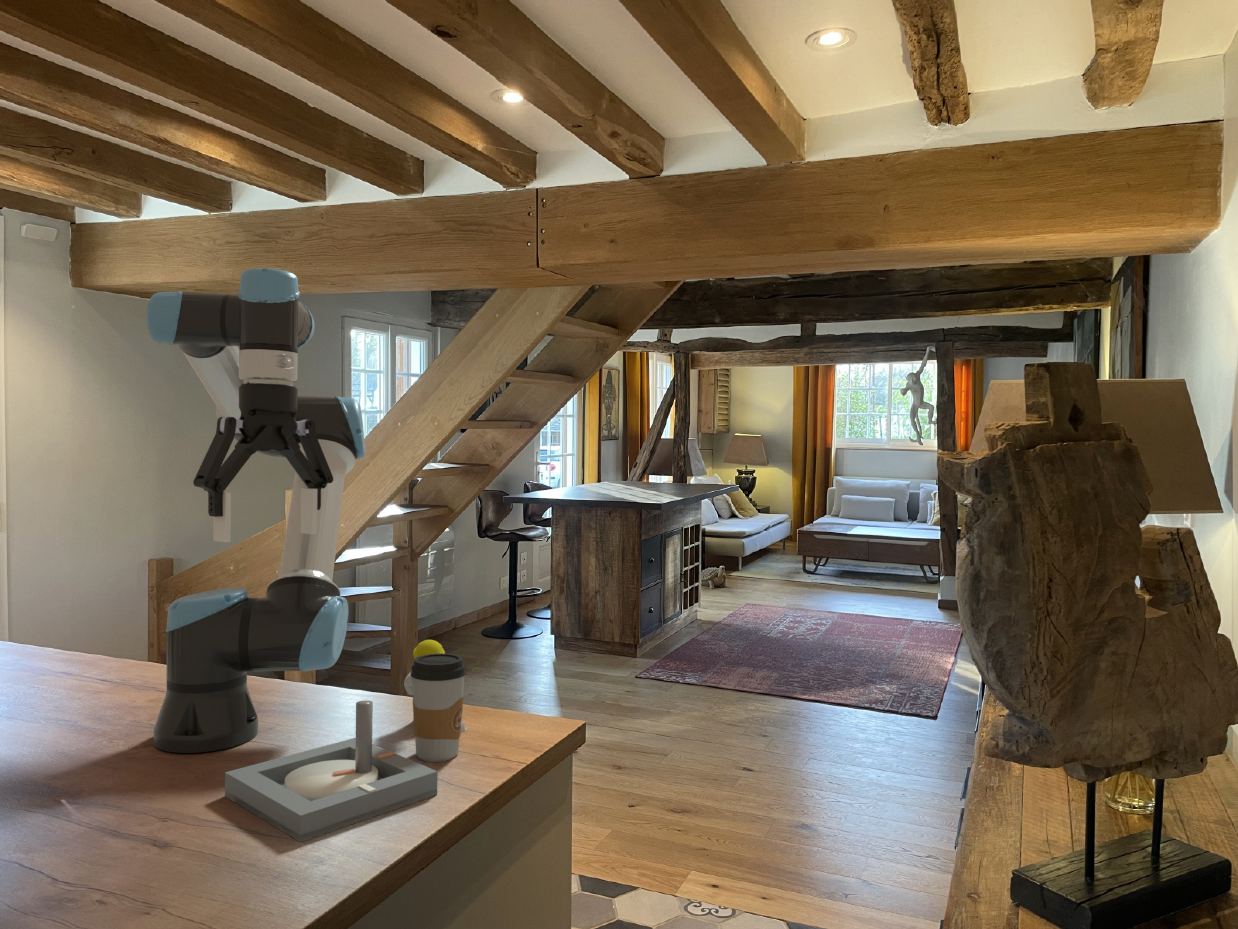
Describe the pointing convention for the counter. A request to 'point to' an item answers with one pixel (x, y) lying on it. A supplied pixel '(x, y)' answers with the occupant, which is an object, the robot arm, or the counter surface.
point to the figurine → (420, 650)
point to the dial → (339, 765)
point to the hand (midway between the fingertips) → (267, 537)
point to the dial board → (308, 819)
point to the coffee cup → (437, 705)
